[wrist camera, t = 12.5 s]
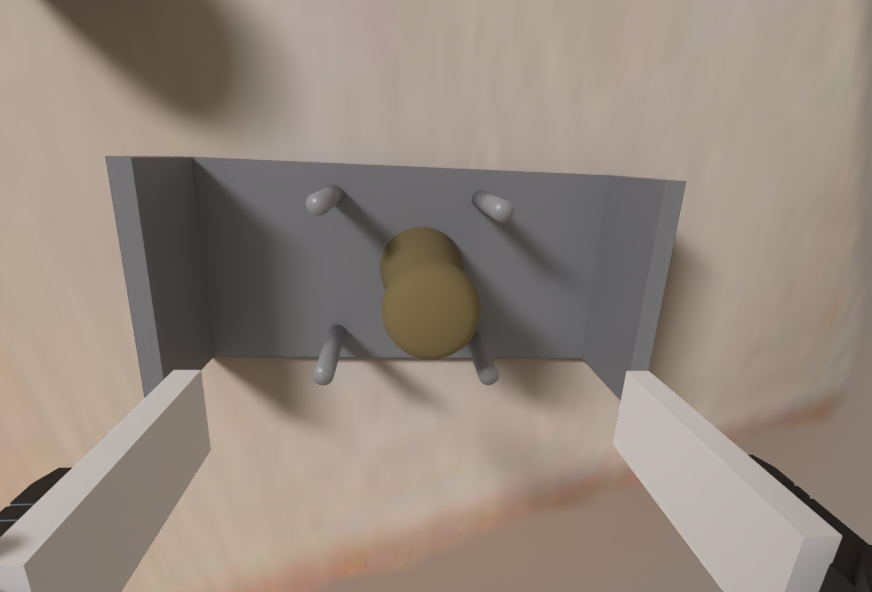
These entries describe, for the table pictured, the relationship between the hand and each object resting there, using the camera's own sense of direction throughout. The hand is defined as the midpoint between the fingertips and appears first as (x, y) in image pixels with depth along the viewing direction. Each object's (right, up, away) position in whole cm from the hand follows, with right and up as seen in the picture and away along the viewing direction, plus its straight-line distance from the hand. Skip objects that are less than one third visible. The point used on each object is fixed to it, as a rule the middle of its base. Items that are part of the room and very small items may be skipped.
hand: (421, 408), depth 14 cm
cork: (-1, +6, +19) cm, 19 cm away
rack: (-2, +6, +19) cm, 20 cm away
